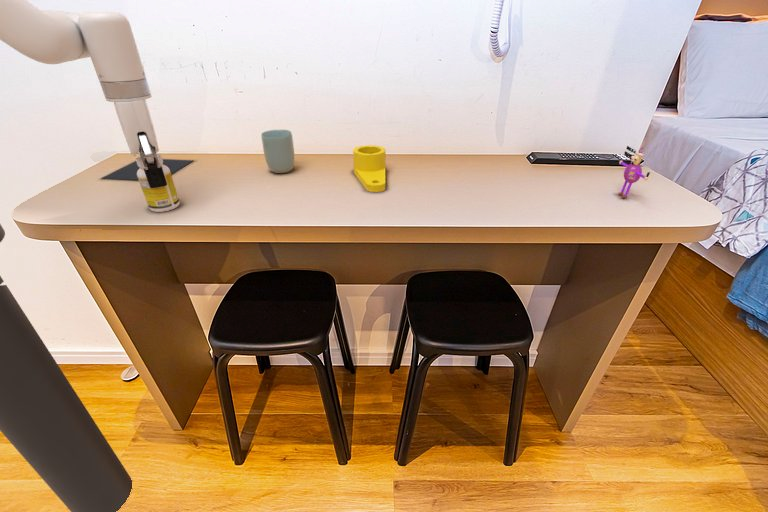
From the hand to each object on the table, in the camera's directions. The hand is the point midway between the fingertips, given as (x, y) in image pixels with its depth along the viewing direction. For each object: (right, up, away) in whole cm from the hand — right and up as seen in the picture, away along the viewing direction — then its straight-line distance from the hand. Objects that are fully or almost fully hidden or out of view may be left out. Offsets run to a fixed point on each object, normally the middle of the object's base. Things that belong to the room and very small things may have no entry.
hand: (156, 180), depth 81 cm
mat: (-16, +8, +23) cm, 29 cm away
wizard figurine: (+104, -2, +8) cm, 105 cm away
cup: (+21, +7, +23) cm, 31 cm away
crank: (+45, +4, +18) cm, 49 cm away
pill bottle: (0, -5, +3) cm, 6 cm away
